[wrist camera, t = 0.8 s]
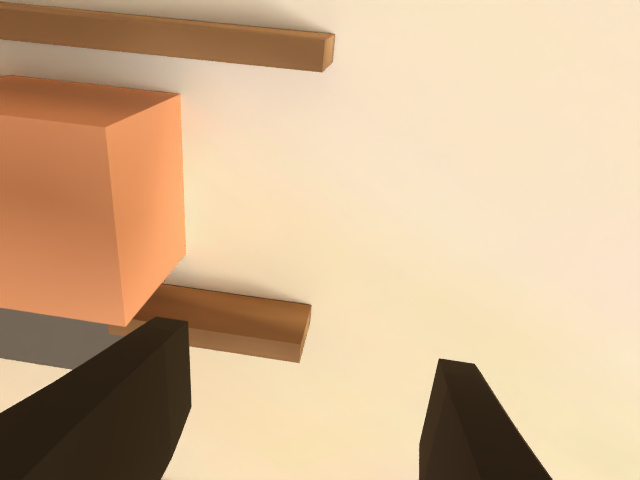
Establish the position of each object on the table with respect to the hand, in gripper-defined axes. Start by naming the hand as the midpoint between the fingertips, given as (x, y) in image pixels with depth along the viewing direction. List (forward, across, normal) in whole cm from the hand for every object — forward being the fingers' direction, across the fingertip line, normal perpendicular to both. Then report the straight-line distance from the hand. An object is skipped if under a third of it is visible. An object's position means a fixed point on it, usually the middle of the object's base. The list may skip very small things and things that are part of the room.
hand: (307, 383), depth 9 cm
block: (+10, +9, 0) cm, 13 cm away
